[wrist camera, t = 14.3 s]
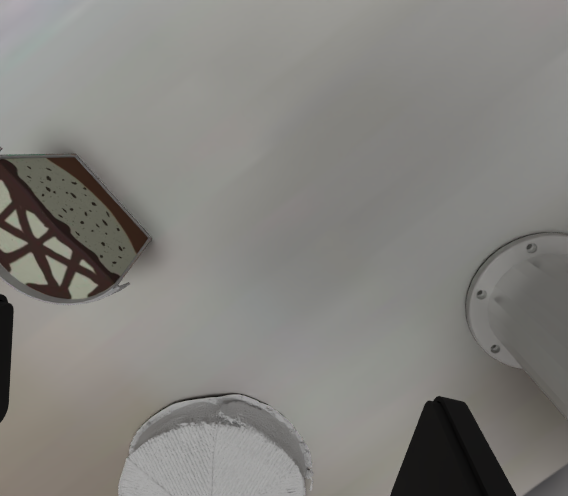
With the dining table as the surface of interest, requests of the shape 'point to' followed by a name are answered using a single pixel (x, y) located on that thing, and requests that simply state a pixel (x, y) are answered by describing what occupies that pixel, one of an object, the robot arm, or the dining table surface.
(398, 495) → the robot arm
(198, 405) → the food container
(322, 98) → the dining table surface
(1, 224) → the food container
